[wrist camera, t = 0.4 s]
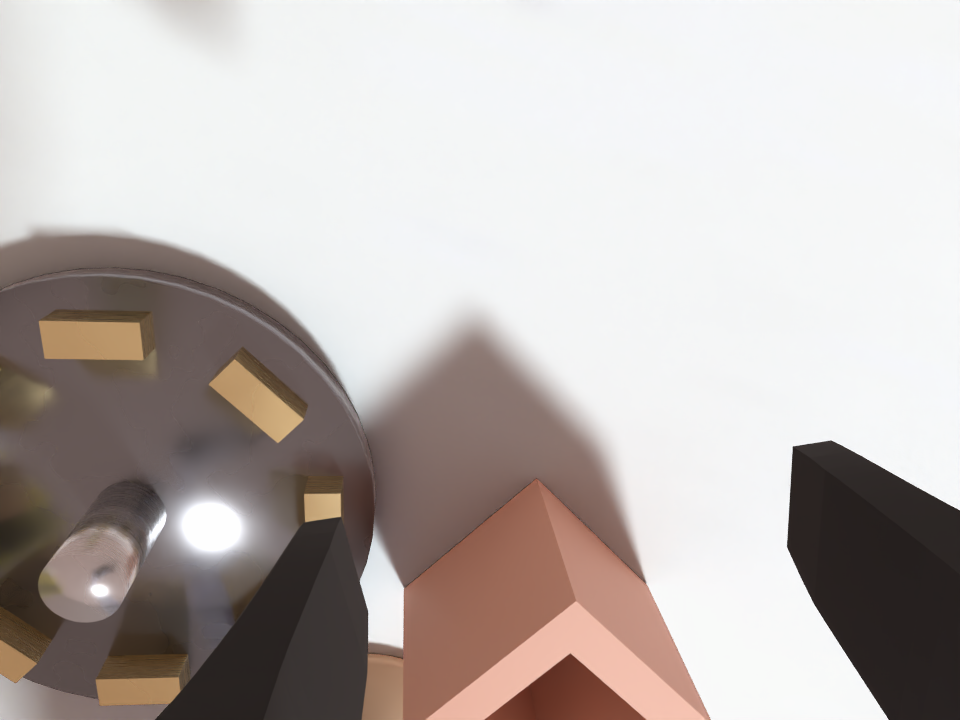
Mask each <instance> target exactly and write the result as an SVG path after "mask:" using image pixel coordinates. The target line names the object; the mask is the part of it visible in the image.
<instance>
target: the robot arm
mask: <svg viewBox="0 0 960 720" xmlns="http://www.w3.org/2000/svg"><path fill="white" fill-rule="evenodd" d="M787 548H788V550H789V552H790V555H791V557H792V559H793V561H794V563H795V565H796V568H797V570H798V572H799V574H800V576H801V578H802V580H803V583H804V585H805V587H806V589H807V591H808V593H809V595H810V597H811V599H812V601H813V603H814V605H815V606H816V608H817V609H818V611H819V613H820V614H821V616H822V617H823V619H824V621H825V622H826V624H827V625H828V627H829V628H830V630H831V631H832V633H833V635H834V636H835V638H836V639H837V641H838V642H839V644H840V645H841V647H842V649H843V650H844V652H845V653H846V655H847V656H848V658H849V659H850V661H851V662H852V664H853V665H854V667H855V669H856V670H857V672H858V673H859V675H860V676H861V678H862V679H863V681H864V682H865V684H866V685H867V687H868V688H869V690H870V692H871V693H872V695H873V696H874V698H875V699H876V701H877V702H878V704H879V705H880V707H881V708H882V710H883V711H884V713H885V715H886V716H887V718H888V719H889V720H960V510H958V509H956V508H954V507H952V506H950V505H948V504H947V503H945V502H943V501H941V500H939V499H937V498H935V497H934V496H932V495H930V494H928V493H926V492H925V491H923V490H921V489H919V488H917V487H915V486H914V485H912V484H910V483H908V482H906V481H905V480H903V479H901V478H899V477H898V476H896V475H894V474H892V473H890V472H889V471H887V470H885V469H883V468H882V467H880V466H878V465H876V464H874V463H873V462H871V461H869V460H867V459H865V458H864V457H862V456H860V455H858V454H856V453H855V452H853V451H851V450H849V449H847V448H845V447H843V446H841V445H839V444H837V443H835V442H833V441H826V442H819V443H813V444H806V445H800V446H793V454H792V471H791V489H790V506H789V523H788V540H787ZM367 670H368V610H367V606H366V603H365V599H364V596H363V592H362V588H361V585H360V581H359V578H358V574H357V571H356V567H355V564H354V560H353V556H352V553H351V549H350V546H349V542H348V539H347V535H346V532H345V528H344V524H343V521H342V517H335V518H329V519H322V520H316V521H309V522H303V524H302V525H301V526H300V527H299V529H298V530H297V532H296V533H295V535H294V536H293V538H292V539H291V541H290V542H289V544H288V545H287V547H286V548H285V550H284V551H283V553H282V554H281V556H280V557H279V559H278V561H277V562H276V564H275V565H274V567H273V568H272V570H271V571H270V573H269V574H268V576H267V577H266V579H265V580H264V582H263V583H262V585H261V586H260V588H259V589H258V590H257V592H256V593H255V595H254V596H253V598H252V599H251V600H250V602H249V603H248V605H247V606H246V607H245V609H244V610H243V612H242V613H241V615H240V616H239V617H238V619H237V620H236V622H235V623H234V624H233V626H232V627H231V628H230V630H229V631H228V633H227V634H226V635H225V636H224V638H223V639H222V640H221V642H220V643H219V644H218V645H217V647H216V648H215V649H214V651H213V652H212V653H211V654H210V656H209V657H208V658H207V660H206V661H205V662H204V663H203V665H202V666H201V667H200V668H199V670H198V671H197V672H196V674H195V675H194V676H193V677H192V678H191V680H190V681H189V682H188V683H187V684H186V686H185V687H184V688H183V689H182V690H181V691H180V693H179V694H178V695H177V696H176V697H175V698H174V700H173V701H172V702H171V703H170V704H169V705H168V706H167V707H166V708H165V710H164V711H163V712H162V713H161V714H160V715H159V716H158V717H157V718H156V719H155V720H362V712H363V705H364V697H365V689H366V681H367Z"/></svg>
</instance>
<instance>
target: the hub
mask: <svg viewBox="0 0 960 720" xmlns="http://www.w3.org/2000/svg"><path fill="white" fill-rule="evenodd" d="M375 498H376V491H375V477H374V467H373V462H372V458H371V454H370V449H369V445H368V441H367V438H366V436H365V433H364V430H363V428H362V425H361V423H360V420H359V417H358V415H357V413H356V411H355V410H354V408H353V406H352V404H351V402H350V401H349V399H348V397H347V395H346V393H345V392H344V390H343V388H342V387H341V386H340V384H339V383H338V382H337V380H336V379H335V378H334V376H333V375H332V374H331V372H330V371H329V370H328V368H327V367H326V366H325V364H324V363H323V362H322V361H321V360H320V359H319V358H318V357H317V356H316V355H315V354H314V353H313V352H312V351H311V350H310V349H309V348H308V347H307V346H306V345H305V344H304V343H303V342H302V341H301V340H300V339H298V338H297V337H296V336H295V335H293V334H292V333H291V332H290V331H288V330H287V329H286V328H285V327H284V326H282V325H281V324H280V323H279V322H277V321H276V320H274V319H272V318H271V317H269V316H268V315H266V314H264V313H263V312H261V311H260V310H258V309H256V308H255V307H253V306H252V305H250V304H248V303H246V302H244V301H242V300H240V299H238V298H235V297H233V296H231V295H229V294H227V293H225V292H223V291H221V290H218V289H216V288H213V287H210V286H207V285H204V284H201V283H198V282H195V281H192V280H189V279H186V278H182V277H177V276H172V275H168V274H163V273H158V272H153V271H147V270H135V269H124V268H90V269H75V270H69V271H63V272H57V273H51V274H45V275H42V276H38V277H35V278H32V279H28V280H25V281H22V282H19V283H15V284H12V285H10V286H8V287H6V288H4V289H1V290H0V674H2V675H3V676H5V677H6V678H8V679H10V680H11V681H13V682H14V683H17V682H18V681H19V680H20V679H21V678H22V677H24V678H26V679H28V680H31V681H33V682H35V683H38V684H42V685H45V686H48V687H51V688H54V689H57V690H60V691H63V692H68V693H72V694H77V695H81V696H86V697H91V698H96V699H99V704H100V706H109V705H143V704H170V703H171V702H172V701H173V700H174V698H175V697H176V696H177V695H178V694H179V693H180V691H181V690H182V689H183V688H184V687H185V686H186V684H187V683H188V682H189V681H190V680H191V678H192V677H193V676H194V675H195V674H196V672H197V671H198V670H199V668H200V667H201V666H202V665H203V663H204V662H205V661H206V660H207V658H208V657H209V656H210V654H211V653H212V652H213V651H214V649H215V648H216V647H217V645H218V644H219V643H220V642H221V640H222V639H223V638H224V636H225V635H226V634H227V633H228V631H229V630H230V628H231V627H232V626H233V624H234V623H235V622H236V620H237V619H238V617H239V616H240V615H241V613H242V612H243V610H244V609H245V607H246V606H247V605H248V603H249V602H250V600H251V599H252V598H253V596H254V595H255V593H256V592H257V590H258V589H259V588H260V586H261V585H262V583H263V582H264V580H265V579H266V577H267V576H268V574H269V573H270V571H271V570H272V568H273V567H274V565H275V564H276V562H277V561H278V559H279V557H280V556H281V554H282V553H283V551H284V550H285V548H286V547H287V545H288V544H289V542H290V541H291V539H292V538H293V536H294V535H295V533H296V532H297V530H298V529H299V527H300V526H301V525H302V524H303V522H309V521H316V520H322V519H329V518H335V517H342V521H343V524H344V528H345V532H346V535H347V539H348V542H349V546H350V549H351V553H352V556H353V560H354V564H355V567H356V571H357V574H358V578H359V581H360V578H361V576H362V573H363V571H364V568H365V566H366V563H367V559H368V555H369V551H370V546H371V542H372V537H373V524H374V511H375Z"/></svg>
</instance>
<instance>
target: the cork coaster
mask: <svg viewBox="0 0 960 720" xmlns="http://www.w3.org/2000/svg"><path fill="white" fill-rule="evenodd" d="M362 720H403V659H401V658H397V657H393V656H387V655H380V654H368V670H367V681H366V689H365V697H364V705H363V712H362Z"/></svg>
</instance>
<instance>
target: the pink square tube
mask: <svg viewBox="0 0 960 720" xmlns="http://www.w3.org/2000/svg"><path fill="white" fill-rule="evenodd" d="M403 720H711V719H710V717H709V715H708V713H707V711H706V709H705V707H704V705H703V702H702V700H701V698H700V696H699V694H698V692H697V690H696V688H695V685H694V683H693V681H692V679H691V677H690V675H689V673H688V671H687V668H686V666H685V664H684V662H683V660H682V658H681V656H680V654H679V652H678V649H677V647H676V645H675V643H674V641H673V639H672V637H671V635H670V632H669V630H668V628H667V626H666V624H665V622H664V620H663V618H662V616H661V613H660V611H659V609H658V607H657V605H656V603H655V601H654V599H653V596H652V594H651V592H650V590H649V588H648V586H647V585H646V584H645V583H644V582H643V581H642V580H641V579H640V578H639V577H638V576H637V575H636V574H635V573H634V572H633V571H632V570H631V569H630V568H629V567H628V566H627V565H626V564H625V563H624V562H623V561H622V560H621V559H620V558H619V557H618V556H616V555H615V554H614V553H613V552H612V551H611V550H610V549H609V548H608V547H607V546H606V545H605V544H604V543H603V542H602V541H601V540H600V539H599V538H598V537H597V536H596V535H595V534H594V533H593V532H592V531H591V530H590V529H589V528H588V527H587V526H586V525H584V524H583V523H582V522H581V521H580V520H579V519H578V518H577V517H576V516H575V515H574V514H573V513H572V512H571V511H570V510H569V509H568V508H567V507H566V506H565V505H564V504H563V503H562V502H561V501H560V500H559V499H558V498H557V497H556V496H555V495H553V494H552V493H551V492H550V491H549V490H548V489H547V488H546V487H545V486H544V485H543V484H542V483H541V482H540V481H539V480H538V479H537V478H536V479H535V480H534V481H533V482H532V483H530V484H529V485H528V486H527V487H526V488H524V489H523V490H522V491H521V492H520V493H518V494H517V495H516V496H515V497H514V498H512V499H511V500H510V501H509V502H508V503H506V504H505V505H504V506H503V507H502V508H500V509H499V510H498V511H497V512H496V513H494V514H493V515H492V516H491V517H490V518H488V519H487V520H486V521H485V522H484V523H482V524H481V525H480V526H479V527H478V528H476V529H475V530H474V531H473V532H472V533H470V534H469V535H468V536H467V537H466V538H464V539H463V540H462V541H461V542H460V543H458V544H457V545H456V546H455V547H454V548H452V549H451V550H450V551H449V552H448V553H446V554H445V555H444V556H443V557H442V558H440V559H439V560H438V561H437V562H436V563H434V564H433V565H432V566H431V567H430V568H428V569H427V570H426V571H425V572H424V573H422V574H421V575H420V576H419V577H418V578H416V579H415V580H414V581H413V582H412V583H410V584H409V585H408V586H407V587H406V588H404V640H403Z"/></svg>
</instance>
